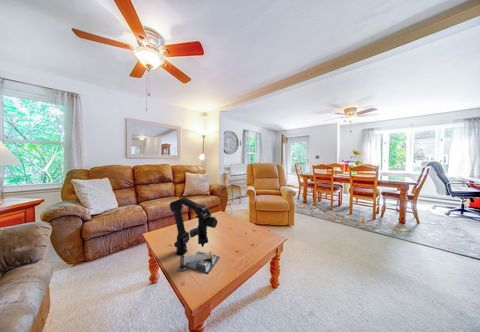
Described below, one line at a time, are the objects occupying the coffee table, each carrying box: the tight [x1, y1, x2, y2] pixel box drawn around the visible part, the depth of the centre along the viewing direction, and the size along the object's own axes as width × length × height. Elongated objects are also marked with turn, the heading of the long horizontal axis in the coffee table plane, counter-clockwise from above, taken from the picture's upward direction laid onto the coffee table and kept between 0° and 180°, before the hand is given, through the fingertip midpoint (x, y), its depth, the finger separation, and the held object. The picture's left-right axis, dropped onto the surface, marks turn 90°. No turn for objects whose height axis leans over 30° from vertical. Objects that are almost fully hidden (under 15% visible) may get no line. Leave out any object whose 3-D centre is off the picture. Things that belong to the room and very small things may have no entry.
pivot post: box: [177, 254, 187, 273], centre depth 99 cm, size 5×5×8 cm
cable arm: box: [184, 251, 214, 264], centre depth 102 cm, size 18×2×3 cm, turn 106°
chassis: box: [184, 250, 221, 275], centre depth 106 cm, size 18×16×3 cm
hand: (202, 246), depth 107 cm, fingers closed
